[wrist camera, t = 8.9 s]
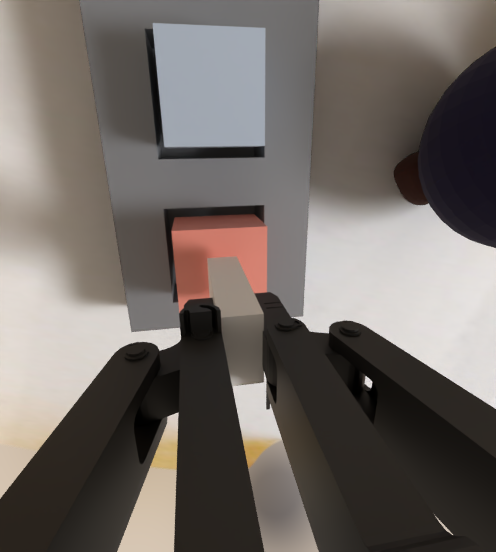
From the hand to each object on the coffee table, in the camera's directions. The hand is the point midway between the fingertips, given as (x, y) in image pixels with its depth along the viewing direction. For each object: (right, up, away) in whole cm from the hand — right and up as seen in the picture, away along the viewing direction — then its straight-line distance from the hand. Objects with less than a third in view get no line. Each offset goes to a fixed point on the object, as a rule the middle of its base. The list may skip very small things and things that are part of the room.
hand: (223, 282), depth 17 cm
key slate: (-1, +10, +2) cm, 11 cm away
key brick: (-1, +2, +5) cm, 5 cm away
